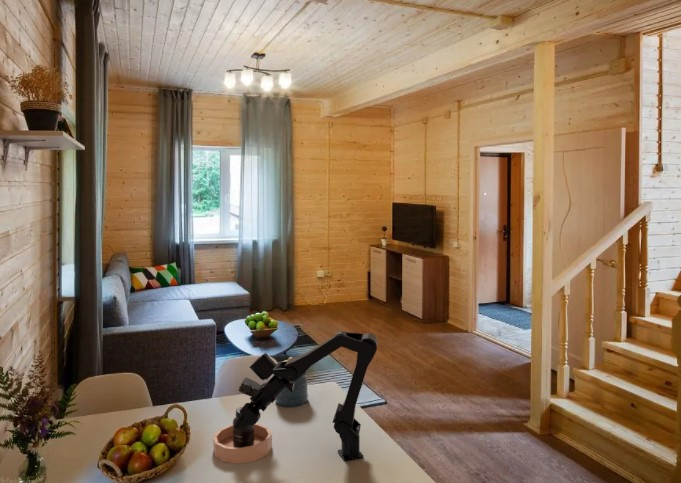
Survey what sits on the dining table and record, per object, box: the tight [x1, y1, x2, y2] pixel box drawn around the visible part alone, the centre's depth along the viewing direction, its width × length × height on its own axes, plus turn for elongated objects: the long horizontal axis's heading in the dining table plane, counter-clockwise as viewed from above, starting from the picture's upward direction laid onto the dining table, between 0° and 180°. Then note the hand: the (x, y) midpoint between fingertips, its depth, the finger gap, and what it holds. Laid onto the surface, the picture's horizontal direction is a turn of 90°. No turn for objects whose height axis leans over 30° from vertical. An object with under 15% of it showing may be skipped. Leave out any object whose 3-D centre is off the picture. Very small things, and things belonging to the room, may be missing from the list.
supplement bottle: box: [232, 406, 254, 448], centre depth 172 cm, size 7×7×12 cm
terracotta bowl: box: [212, 423, 273, 464], centre depth 172 cm, size 18×18×4 cm
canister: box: [275, 356, 309, 408], centre depth 210 cm, size 13×13×18 cm
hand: (238, 421), depth 172 cm, fingers open, 9 cm apart
